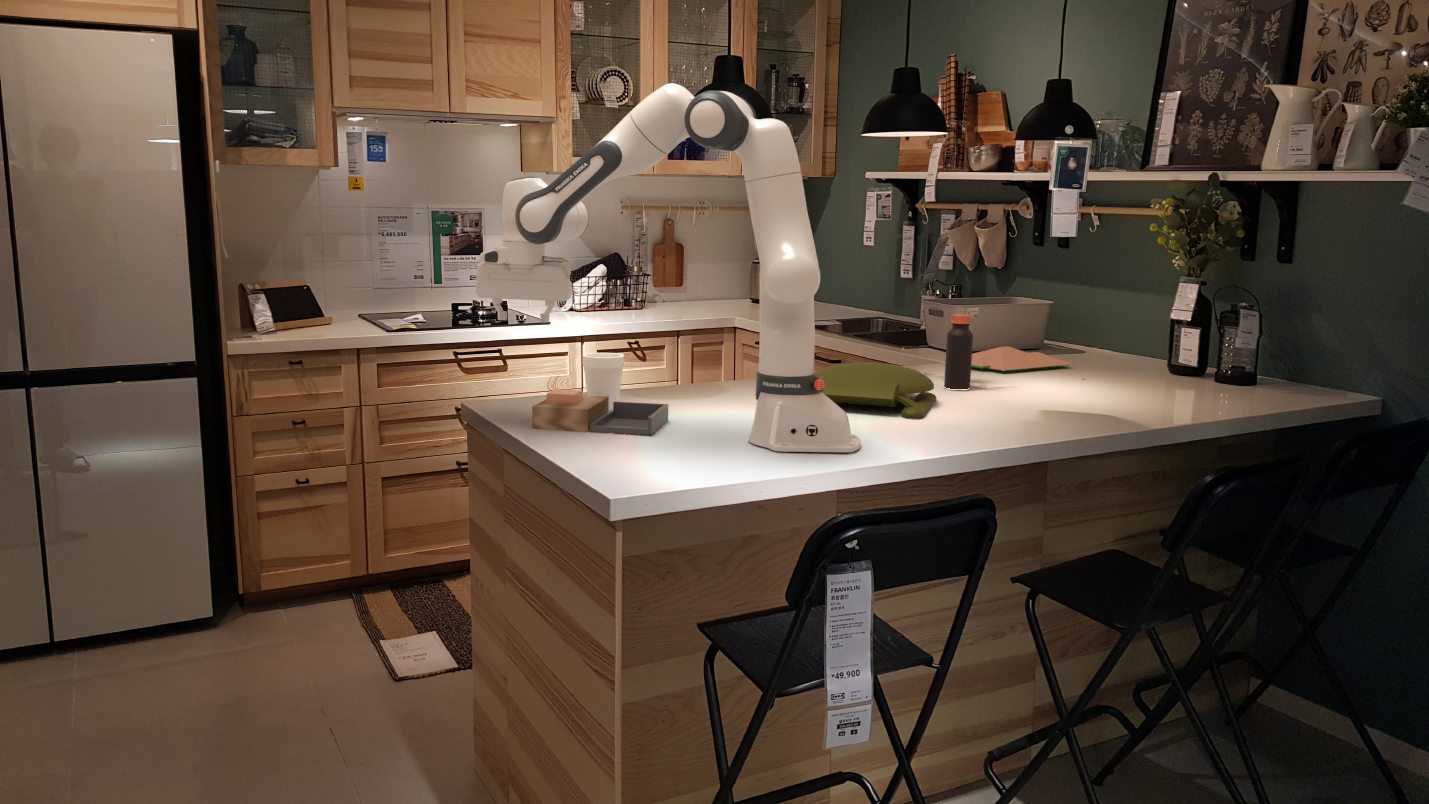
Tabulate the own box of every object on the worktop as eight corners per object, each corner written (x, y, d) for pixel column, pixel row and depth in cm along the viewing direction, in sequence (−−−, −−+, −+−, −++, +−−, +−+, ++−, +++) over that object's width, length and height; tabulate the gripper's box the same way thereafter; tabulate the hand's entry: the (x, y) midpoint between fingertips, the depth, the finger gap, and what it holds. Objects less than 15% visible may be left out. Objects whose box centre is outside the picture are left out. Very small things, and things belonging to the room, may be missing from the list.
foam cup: (586, 415, 241) (586, 358, 239) (579, 408, 250) (579, 353, 248) (627, 414, 244) (628, 357, 242) (619, 407, 253) (620, 352, 251)
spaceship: (921, 421, 245) (924, 379, 243) (790, 411, 255) (791, 370, 253) (940, 398, 278) (942, 360, 276) (823, 389, 287) (824, 353, 286)
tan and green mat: (937, 371, 324) (939, 344, 323) (1012, 365, 342) (1014, 339, 341) (996, 382, 306) (998, 353, 304) (1072, 374, 324) (1074, 347, 322)
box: (668, 422, 236) (668, 404, 236) (651, 436, 221) (651, 417, 220) (610, 419, 238) (610, 401, 238) (590, 433, 223) (590, 414, 222)
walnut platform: (608, 418, 238) (608, 396, 238) (587, 433, 223) (587, 409, 222) (556, 416, 240) (556, 394, 240) (532, 430, 225) (532, 406, 224)
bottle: (972, 391, 285) (976, 316, 282) (946, 391, 285) (950, 315, 282) (966, 387, 292) (971, 314, 289) (941, 387, 292) (945, 313, 289)
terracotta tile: (582, 399, 234) (582, 390, 233) (574, 404, 228) (574, 394, 227) (555, 398, 235) (555, 389, 234) (546, 402, 229) (546, 393, 228)
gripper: (575, 256, 228) (575, 321, 231) (483, 253, 232) (484, 317, 234) (566, 257, 222) (566, 324, 225) (472, 254, 226) (472, 320, 228)
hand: (523, 321), depth 229 cm, fingers open, 8 cm apart
